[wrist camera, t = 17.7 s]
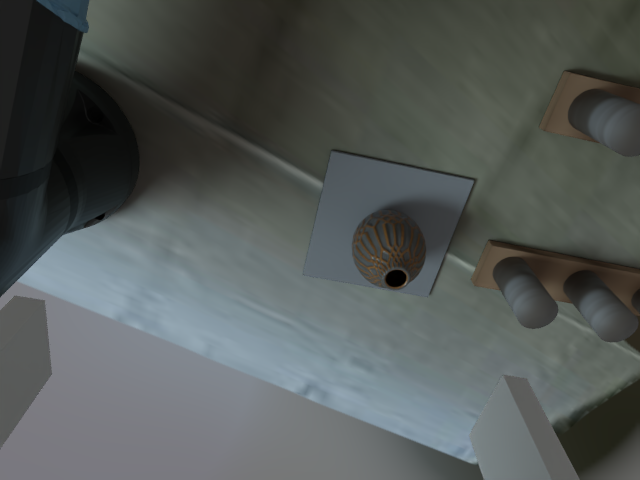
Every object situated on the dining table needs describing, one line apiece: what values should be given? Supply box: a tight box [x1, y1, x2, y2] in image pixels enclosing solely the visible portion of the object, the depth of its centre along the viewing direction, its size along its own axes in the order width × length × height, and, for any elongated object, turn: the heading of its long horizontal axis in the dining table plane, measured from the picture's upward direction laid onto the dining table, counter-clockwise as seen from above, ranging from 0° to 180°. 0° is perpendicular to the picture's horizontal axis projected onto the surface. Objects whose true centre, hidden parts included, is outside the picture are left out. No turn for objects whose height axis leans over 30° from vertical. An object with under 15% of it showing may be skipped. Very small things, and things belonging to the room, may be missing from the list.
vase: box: [352, 210, 426, 290], centre depth 43 cm, size 7×7×9 cm
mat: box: [303, 150, 474, 297], centre depth 47 cm, size 14×14×1 cm
